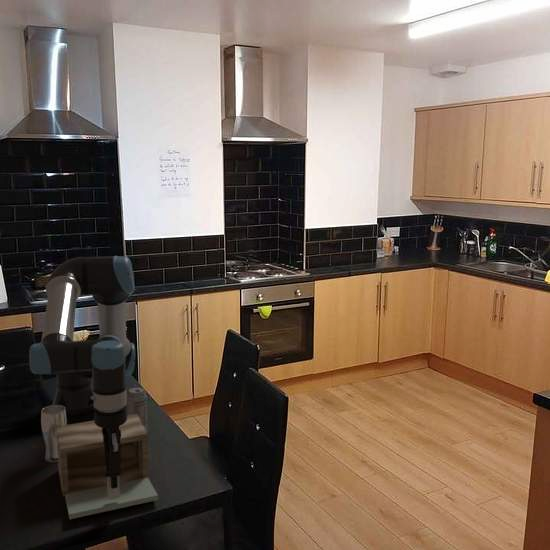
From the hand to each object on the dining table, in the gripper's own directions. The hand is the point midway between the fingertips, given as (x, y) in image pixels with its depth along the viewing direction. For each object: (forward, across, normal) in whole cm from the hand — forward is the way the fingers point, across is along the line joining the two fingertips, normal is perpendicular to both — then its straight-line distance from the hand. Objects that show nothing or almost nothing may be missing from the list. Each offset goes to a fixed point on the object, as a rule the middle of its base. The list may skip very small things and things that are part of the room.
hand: (113, 497), depth 141 cm
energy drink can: (+5, -42, +14) cm, 44 cm away
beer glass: (+5, -36, -11) cm, 38 cm away
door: (+4, -10, 0) cm, 11 cm away
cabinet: (+5, -19, 0) cm, 19 cm away
